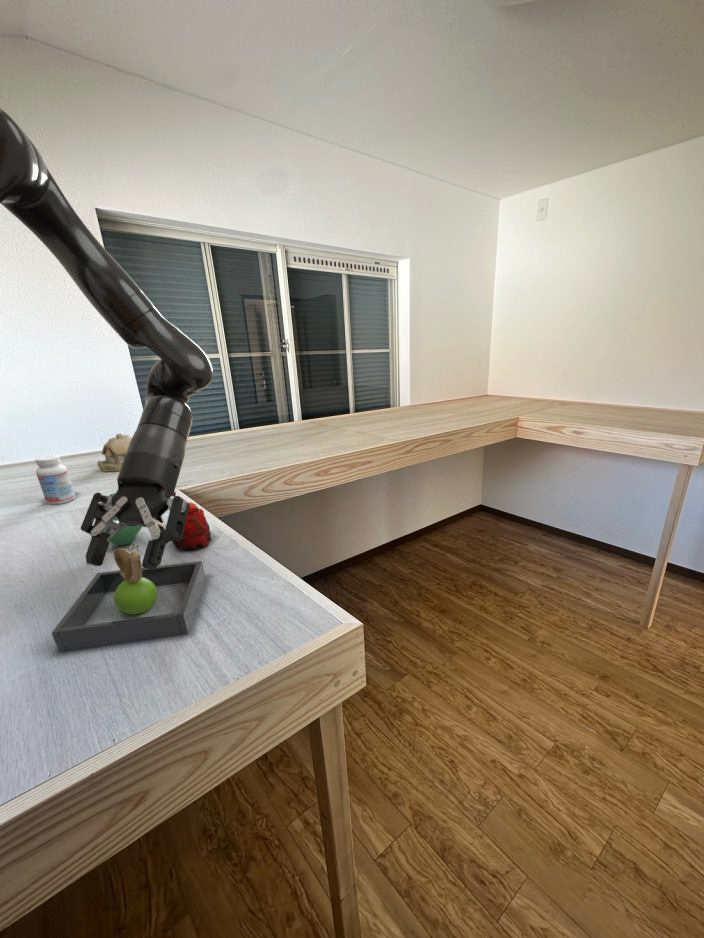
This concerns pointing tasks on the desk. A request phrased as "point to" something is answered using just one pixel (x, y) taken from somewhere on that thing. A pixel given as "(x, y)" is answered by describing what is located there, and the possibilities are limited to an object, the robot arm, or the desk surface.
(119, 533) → the alien toy
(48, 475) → the pill bottle
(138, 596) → the snail figurine
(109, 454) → the ceramic model
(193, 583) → the grey open frame
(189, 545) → the red bumpy rounded piece
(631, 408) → the desk surface
